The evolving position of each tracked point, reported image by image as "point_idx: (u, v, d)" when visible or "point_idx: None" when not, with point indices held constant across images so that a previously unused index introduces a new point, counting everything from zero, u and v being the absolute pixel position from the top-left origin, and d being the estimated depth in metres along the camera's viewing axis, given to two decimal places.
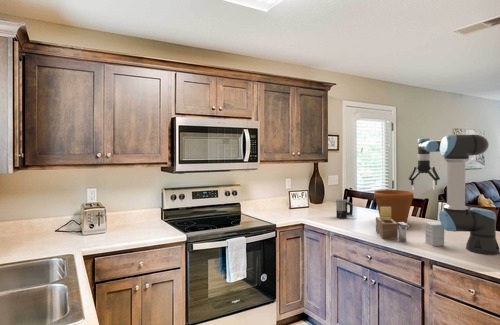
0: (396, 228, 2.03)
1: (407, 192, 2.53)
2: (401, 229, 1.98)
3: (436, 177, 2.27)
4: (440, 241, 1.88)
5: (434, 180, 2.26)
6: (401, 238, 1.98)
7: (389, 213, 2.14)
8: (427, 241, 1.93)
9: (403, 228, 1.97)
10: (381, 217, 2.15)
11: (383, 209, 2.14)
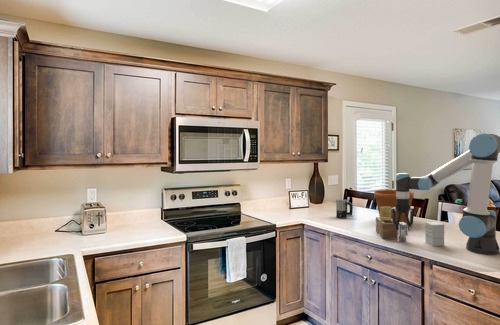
0: None
1: None
2: (401, 229, 1.98)
3: (410, 220, 1.99)
4: (440, 241, 1.88)
5: None
6: (401, 238, 1.98)
7: (389, 213, 2.14)
8: (427, 241, 1.93)
9: (403, 228, 1.97)
10: (381, 217, 2.15)
11: (383, 209, 2.14)
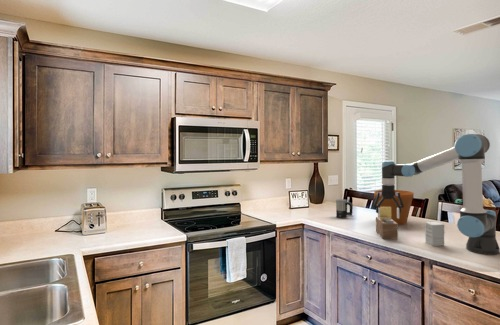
0: (396, 228, 2.03)
1: (407, 192, 2.53)
2: None
3: (400, 204, 2.07)
4: (440, 241, 1.88)
5: (398, 208, 2.07)
6: None
7: (389, 213, 2.14)
8: (427, 241, 1.93)
9: None
10: (381, 217, 2.15)
11: (383, 209, 2.14)
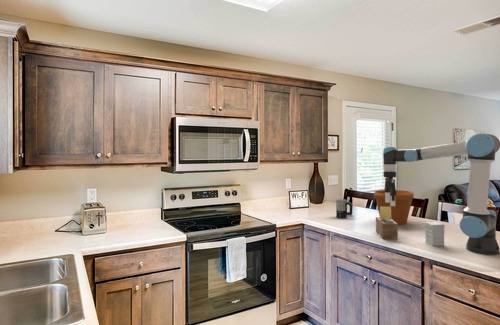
0: (396, 228, 2.03)
1: (407, 192, 2.53)
2: None
3: None
4: (440, 241, 1.88)
5: None
6: None
7: (389, 213, 2.14)
8: (427, 241, 1.93)
9: None
10: (381, 217, 2.15)
11: (383, 209, 2.15)
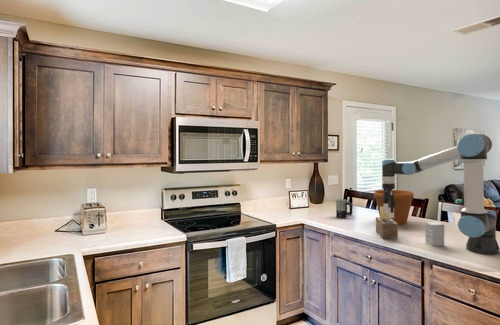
0: (396, 228, 2.03)
1: (407, 192, 2.53)
2: None
3: None
4: (440, 241, 1.88)
5: None
6: None
7: None
8: (427, 241, 1.93)
9: None
10: (381, 217, 2.15)
11: (383, 209, 2.15)
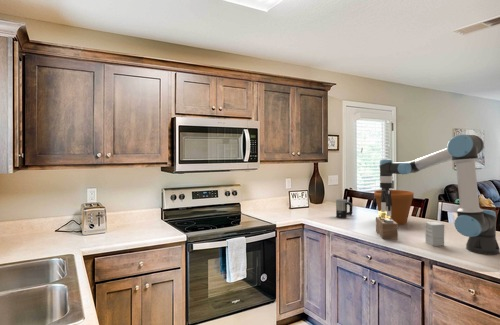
0: (396, 228, 2.03)
1: (407, 192, 2.53)
2: None
3: (390, 203, 2.04)
4: (440, 241, 1.88)
5: None
6: None
7: None
8: (427, 241, 1.93)
9: None
10: (381, 217, 2.16)
11: (381, 212, 2.20)
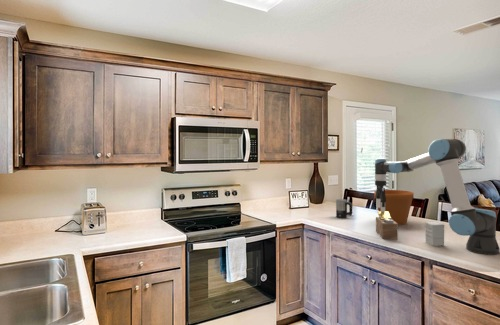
0: (396, 228, 2.03)
1: (407, 192, 2.53)
2: None
3: None
4: (440, 241, 1.88)
5: None
6: None
7: (388, 215, 2.18)
8: (427, 241, 1.93)
9: None
10: (381, 217, 2.16)
11: (381, 212, 2.21)
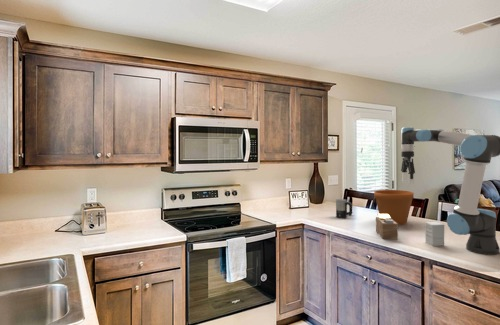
0: (396, 228, 2.03)
1: (407, 192, 2.53)
2: None
3: None
4: (440, 241, 1.88)
5: None
6: None
7: (387, 216, 2.18)
8: (427, 241, 1.93)
9: None
10: (381, 217, 2.16)
11: (381, 214, 2.21)
